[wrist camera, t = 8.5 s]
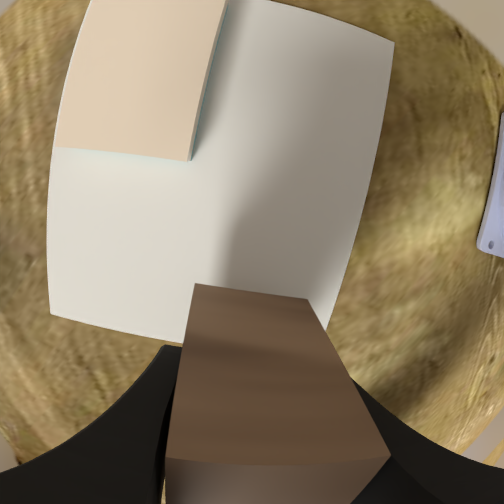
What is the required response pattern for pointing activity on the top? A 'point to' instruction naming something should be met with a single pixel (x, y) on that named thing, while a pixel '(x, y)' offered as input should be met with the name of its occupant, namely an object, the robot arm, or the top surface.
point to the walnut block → (265, 408)
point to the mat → (229, 181)
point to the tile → (141, 77)
